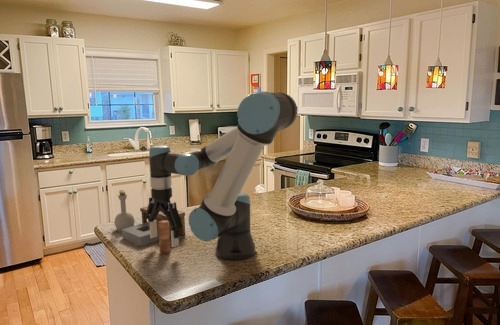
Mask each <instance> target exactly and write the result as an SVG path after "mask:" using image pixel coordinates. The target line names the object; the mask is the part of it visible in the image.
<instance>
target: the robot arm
mask: <svg viewBox="0 0 500 325" xmlns="http://www.w3.org/2000/svg"><path fill="white" fill-rule="evenodd" d="M297 116H298V106H297V103H296V101H295V100H294V98H293V97H292V96H291V95H289V94H287V93H284V92H278V91H277V92H269V91H258V92H253V93H250V94H248V95H247V96H245V97H244V98H243V99H242V100H241V101H240V103H239V105H238V106H237V112H236V117H237V118H238V119H237V122H238V123H237V125H236V127H234V128H232V129H231V130H229V131H227V132H226V133H224V134H222V135H221V136H218V138H216V139H215V140H212V141H211V142H209V143H208V144H207V145H205V146H203V147H202V148H200V149H194V150H189V151H185V152H171V147H170V146H169V145H163V144H162V145H152V146H151V147H150V148H149V149H148V150H149V151H148V153H149V154H148V159H149V160H148V161H149V172H150V187H151V189H150V191H151V192H150V196H151V197H149V198H148V204H147V206H148V208H147V212H146V216H145V218H146V219H147V222H149V227H150V238H154V237H157V221H156V217H157V215H158V213H159V211H161V212H162V213H163V214H164V215H166V217H167V219H168V221H169V223H170V225H171V227H172V230H171V240H170V244H171V247H172V248H174V247H178V246H179V244H180V241H179V240H180V239H179V238H180V234H179V229H181V228H183V226H182V223H181V220H180V217H179V214H178V211H177V210H178V208H177V207H178V206H177V202H176V201H173V202H171V198H172V197H173V188H172V174H174V175H181V176H185V177H186V176H193V175H195V174H196V172H198V171H200V170H201V171H202V170H206V169H211V168H212V167H215V166H216V165H217V164H219V163H218V162H219V161H221V160H223V159H226V161H225V163H224V165H223V167H222V169H221V171H220V173H219V175H218V177H217V179H216V182H215V183H214V186H213V188H212V190H211V192H208V193H206V194H205V195H204V197H203V198H202V201H201V203H200V205H199V206H198V207H195V208H194V209H193V210H192V211H190V212H189V214H188V225H189V227H190V228H189V229H190V231H191V232H192V233H193V235H194V236H195V237H196V238H197V239H198V240H199V241H201V242H211V241H213V240H214V241H215V240H216V239H217V242H216V245H215V246H214V247H215V249H214V250H215V254H216V256H217V257H218V258H220V259H223V260H228V261H239V260H240V261H241V260H246V259H249V258H251V257H252V256H254V255H255V254H256V245H255V242H254V239H253V236H252V233H251V232H252V231H251V200H250V196H249V195H248V194H247V193H245V192H242V190H243V188H244V186H245V184H246V183H247V180H248V179H249V177H250V175H251V172H252V170H253V169H254V167H255V165H256V163H257V160H258V159H259V156H260V155H261V153H262V151H263V149H264V147H265V146H269V145H271V144H272V143H273V141H274V139H275V137H276V134H277V133H278V132H280V131H282V130H285V129H288V128H289V127H291V126H292V125H293V124H294V122H295V121H296V118H297ZM168 210H169V211H168ZM174 226H175V227H174Z"/></svg>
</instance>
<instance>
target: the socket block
mask: <svg viewBox="0 0 500 325" xmlns="http://www.w3.org/2000/svg"><path fill="white" fill-rule="evenodd" d="M121 236H122V237H121V238H124V239H123V240H125V239H126V240H125V241H127V240H128V241H127V242H129V241H130V243H131V242H132V243H131V244H134V245H137V246H138V247H144V246H147V245H151V244H153V243H155V242H159V241H158V240H159V230H158V224H157V237H154V238H150V227H149V221H147V222H146V223H139V224H134V226H132V227H129V228H125V229H122V232H121Z"/></svg>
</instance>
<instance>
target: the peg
mask: <svg viewBox="0 0 500 325" xmlns="http://www.w3.org/2000/svg"><path fill="white" fill-rule="evenodd" d="M158 230H159V241H158V242H159V243H158V244H159V254H160V255H168V254H170V253H171V240H170V233H169V221H167V220H162V221H159V222H158Z"/></svg>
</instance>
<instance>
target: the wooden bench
mask: <svg viewBox="0 0 500 325" xmlns="http://www.w3.org/2000/svg"><path fill="white" fill-rule="evenodd" d="M147 208H148V205H147V206H143V207H140V209H139V210H140V211H139V212H141V222H142V223H146V222H148V219H146V218H145V216H146V212H147ZM168 211H169V210H168ZM177 211H178V214H179V217H180V220H181V223H182V226H183V228H181V229H179V236H180V235H181V236H185V235H186V222H185V221H186V220H185V216H186V212H185V211H181V210H178V209H177ZM162 220H167V221H168V219H167V217H166V215H164V214H163V213H162V212H161V211H159V213H158V215H157V217H156V221H157V224H158V222H159V221H162ZM142 223H141V224H142ZM174 227H175V226H174ZM171 230H172V227H171V225H170V223H169V233H170V241H171Z"/></svg>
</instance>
